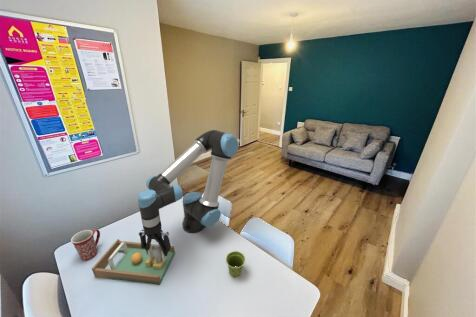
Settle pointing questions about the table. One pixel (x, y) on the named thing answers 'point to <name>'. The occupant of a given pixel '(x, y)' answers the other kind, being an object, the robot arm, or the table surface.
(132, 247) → the pitch
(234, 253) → the plant pot
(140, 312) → the table surface
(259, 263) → the table surface
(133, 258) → the ball
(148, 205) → the robot arm
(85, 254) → the mug
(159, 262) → the kicker
